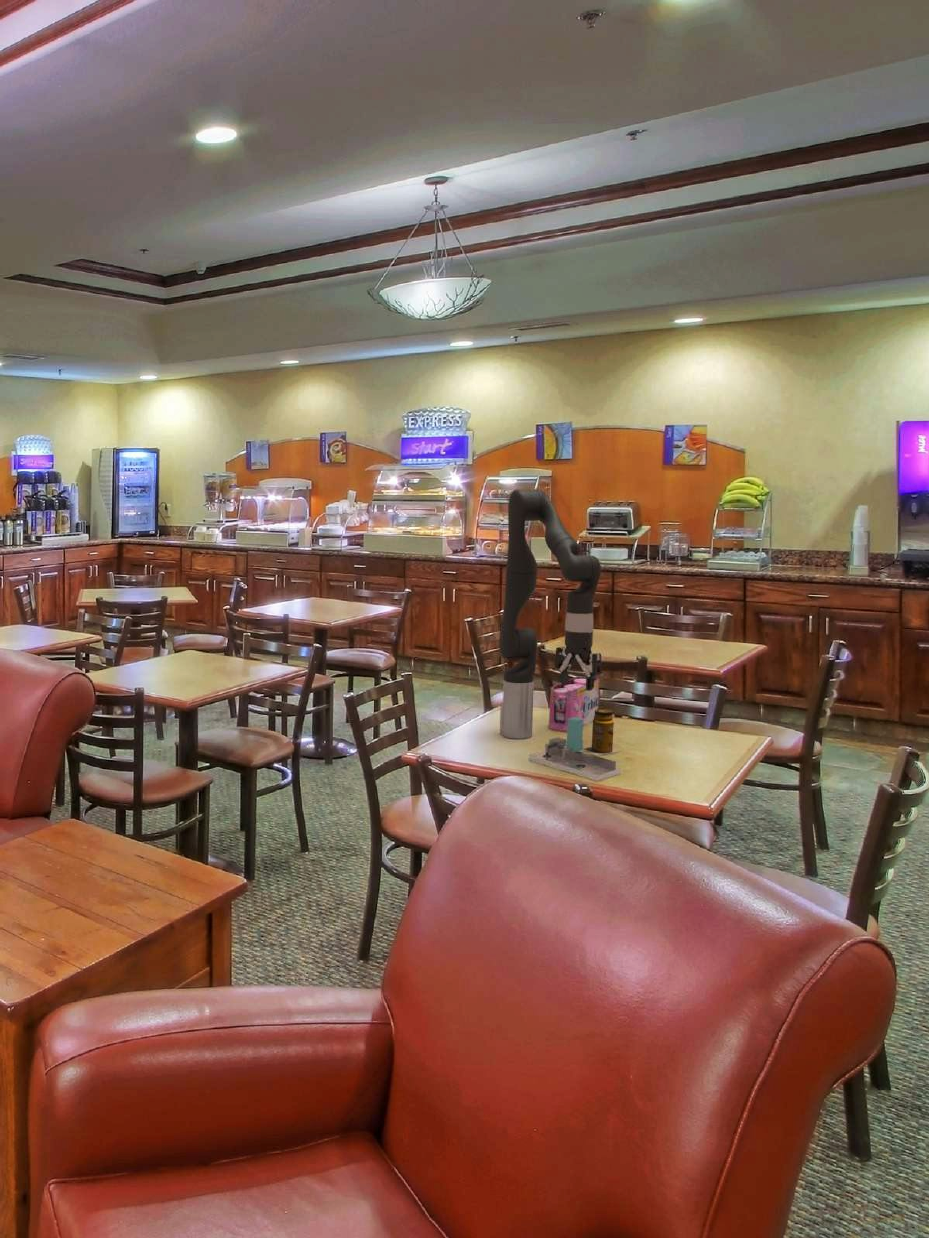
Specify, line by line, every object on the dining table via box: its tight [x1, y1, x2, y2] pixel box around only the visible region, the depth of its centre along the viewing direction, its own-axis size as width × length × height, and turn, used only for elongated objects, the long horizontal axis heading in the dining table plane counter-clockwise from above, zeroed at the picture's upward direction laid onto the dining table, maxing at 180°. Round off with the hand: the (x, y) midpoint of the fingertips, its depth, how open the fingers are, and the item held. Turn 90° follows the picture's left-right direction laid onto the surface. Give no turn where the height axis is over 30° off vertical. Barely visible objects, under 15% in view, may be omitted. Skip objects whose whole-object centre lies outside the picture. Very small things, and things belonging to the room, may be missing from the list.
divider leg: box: [562, 717, 584, 760], centre depth 244 cm, size 3×7×11 cm, turn 134°
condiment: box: [582, 708, 619, 757], centre depth 258 cm, size 7×8×12 cm
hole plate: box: [528, 736, 622, 782], centre depth 242 cm, size 24×10×6 cm, turn 44°
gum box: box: [548, 676, 600, 733], centre depth 288 cm, size 24×8×14 cm, turn 149°
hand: (576, 687), depth 243 cm, fingers open, 8 cm apart
